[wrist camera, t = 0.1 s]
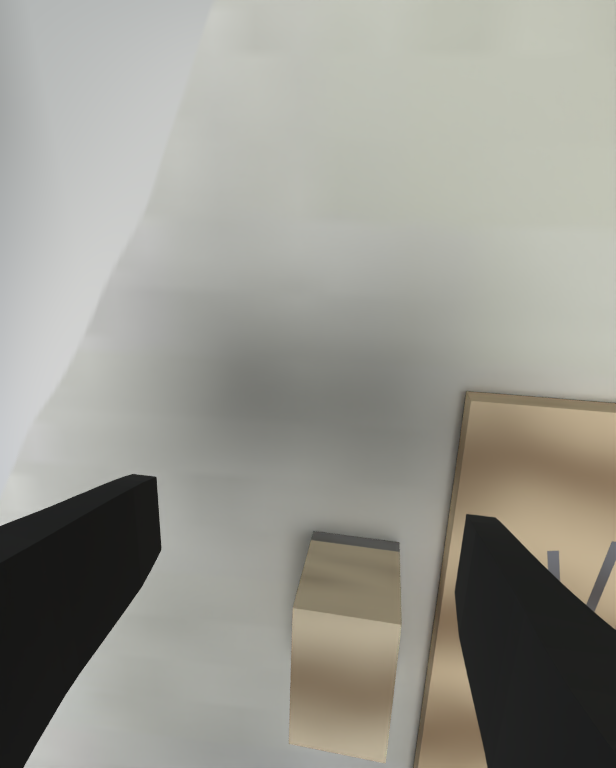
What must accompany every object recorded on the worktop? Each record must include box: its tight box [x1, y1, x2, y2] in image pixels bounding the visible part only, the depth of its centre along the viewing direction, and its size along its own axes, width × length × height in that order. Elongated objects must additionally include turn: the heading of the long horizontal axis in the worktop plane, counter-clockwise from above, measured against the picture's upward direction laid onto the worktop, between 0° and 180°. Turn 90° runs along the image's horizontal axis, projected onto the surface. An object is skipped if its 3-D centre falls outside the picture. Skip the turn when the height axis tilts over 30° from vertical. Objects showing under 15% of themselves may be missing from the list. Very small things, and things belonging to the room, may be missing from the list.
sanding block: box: [289, 531, 401, 763], centre depth 21 cm, size 7×4×5 cm, turn 178°
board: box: [413, 391, 616, 768], centre depth 21 cm, size 22×12×1 cm, turn 178°
